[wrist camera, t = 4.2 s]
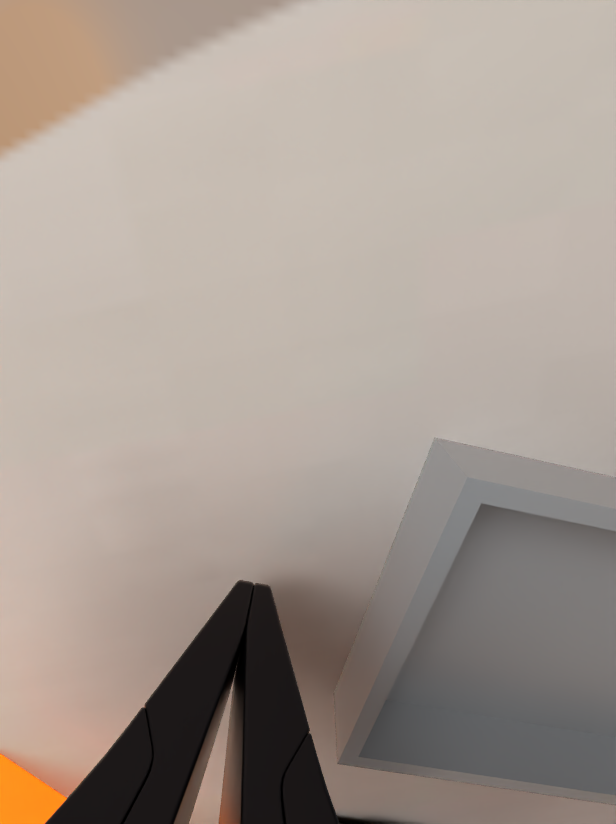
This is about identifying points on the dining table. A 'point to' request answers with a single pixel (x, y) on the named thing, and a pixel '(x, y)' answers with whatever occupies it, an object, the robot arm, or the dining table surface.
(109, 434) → the dining table surface
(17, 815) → the orange juice
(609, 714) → the grey open tray
